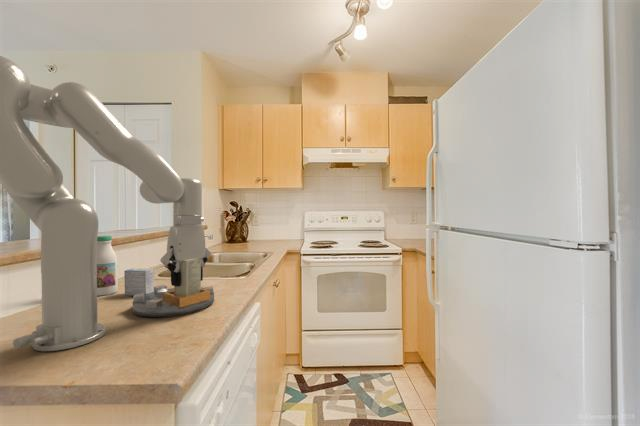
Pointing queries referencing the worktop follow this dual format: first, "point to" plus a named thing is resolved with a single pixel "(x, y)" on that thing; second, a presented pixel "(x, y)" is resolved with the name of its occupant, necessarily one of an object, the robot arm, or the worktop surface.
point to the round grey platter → (170, 302)
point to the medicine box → (139, 281)
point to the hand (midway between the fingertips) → (187, 282)
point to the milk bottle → (106, 266)
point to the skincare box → (189, 278)
